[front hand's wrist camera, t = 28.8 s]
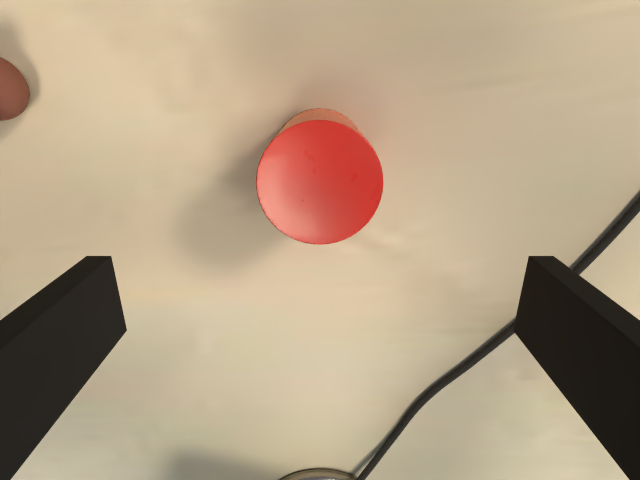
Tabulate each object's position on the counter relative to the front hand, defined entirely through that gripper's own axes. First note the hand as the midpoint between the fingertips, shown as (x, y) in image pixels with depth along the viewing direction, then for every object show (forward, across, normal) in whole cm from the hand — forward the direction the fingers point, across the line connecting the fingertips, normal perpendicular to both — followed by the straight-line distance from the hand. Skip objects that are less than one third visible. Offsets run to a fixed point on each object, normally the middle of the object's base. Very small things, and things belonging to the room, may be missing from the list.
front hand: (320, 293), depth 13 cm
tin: (+25, 0, 0) cm, 25 cm away
